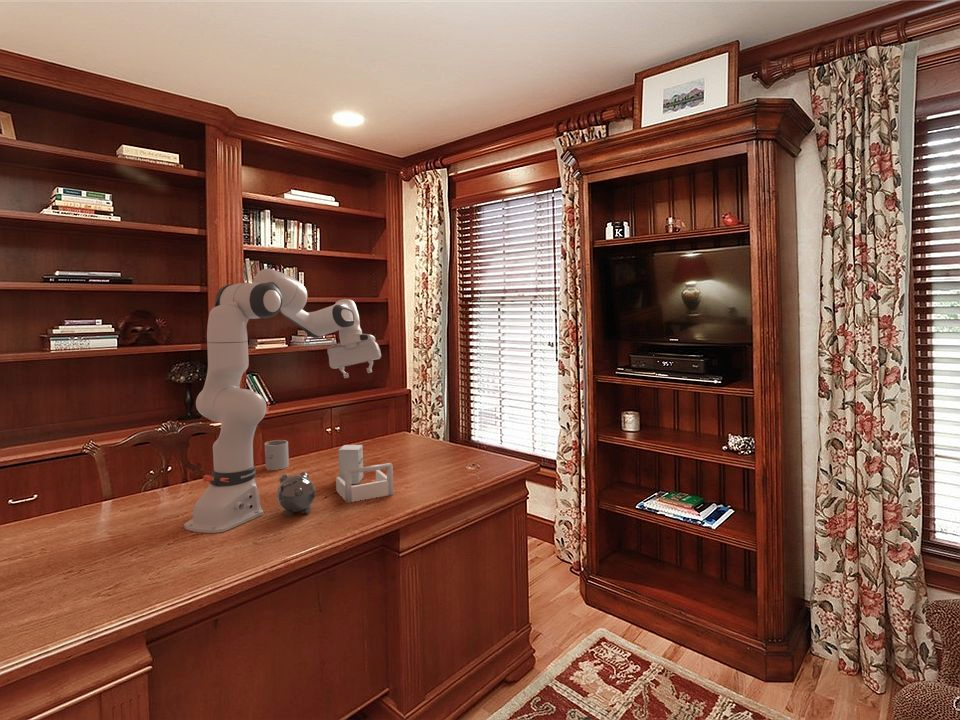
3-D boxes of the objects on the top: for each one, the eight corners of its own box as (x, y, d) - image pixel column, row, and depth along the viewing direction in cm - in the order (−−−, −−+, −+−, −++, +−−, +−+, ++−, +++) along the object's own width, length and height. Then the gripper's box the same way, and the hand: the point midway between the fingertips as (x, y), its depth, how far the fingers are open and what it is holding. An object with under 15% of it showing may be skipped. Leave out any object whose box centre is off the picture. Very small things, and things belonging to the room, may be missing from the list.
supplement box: (359, 484, 190) (358, 449, 189) (338, 484, 190) (337, 449, 189) (364, 477, 197) (363, 444, 196) (344, 477, 197) (343, 444, 196)
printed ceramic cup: (291, 468, 209) (290, 443, 208) (268, 472, 205) (267, 446, 204) (283, 460, 219) (282, 437, 218) (261, 464, 215) (260, 440, 214)
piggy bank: (311, 501, 174) (310, 466, 172) (319, 517, 160) (318, 480, 159) (275, 506, 169) (273, 471, 168) (280, 523, 155) (278, 485, 154)
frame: (394, 494, 179) (393, 463, 178) (346, 503, 171) (345, 471, 170) (380, 483, 191) (379, 453, 190) (335, 491, 183) (334, 460, 182)
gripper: (323, 345, 205) (329, 380, 204) (374, 333, 204) (380, 369, 203) (329, 347, 212) (335, 381, 210) (378, 336, 210) (385, 370, 209)
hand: (358, 375), depth 206 cm, fingers open, 8 cm apart
